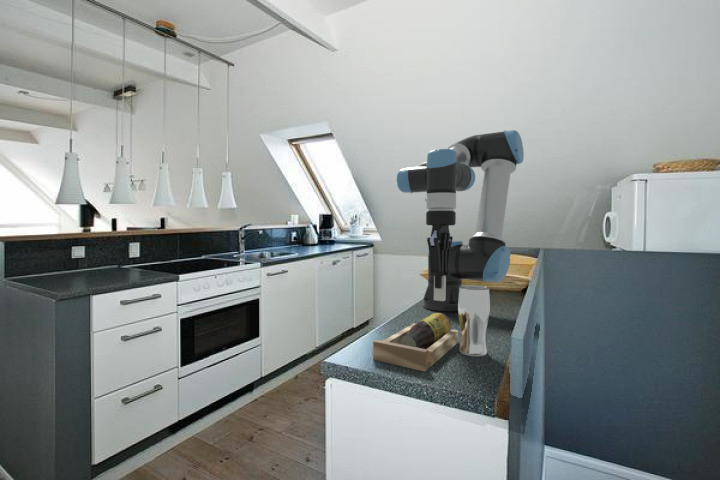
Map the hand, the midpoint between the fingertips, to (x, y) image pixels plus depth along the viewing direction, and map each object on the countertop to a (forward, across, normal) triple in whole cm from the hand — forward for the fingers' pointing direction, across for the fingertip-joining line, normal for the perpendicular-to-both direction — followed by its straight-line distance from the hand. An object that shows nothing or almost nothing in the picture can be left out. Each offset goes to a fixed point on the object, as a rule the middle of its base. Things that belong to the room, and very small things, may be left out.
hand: (439, 300), depth 98 cm
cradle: (+9, +14, 0) cm, 17 cm away
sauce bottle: (+6, 0, 0) cm, 6 cm away
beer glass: (+10, +8, +11) cm, 17 cm away
